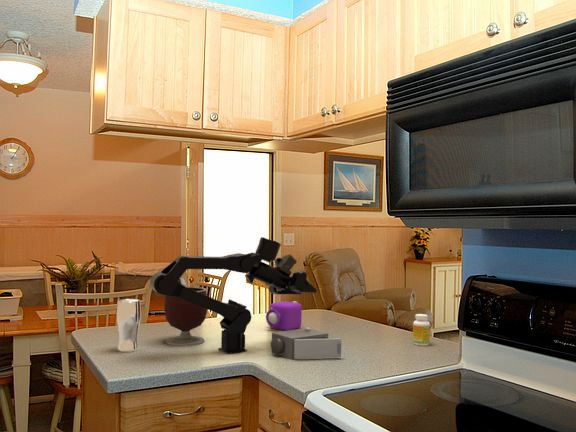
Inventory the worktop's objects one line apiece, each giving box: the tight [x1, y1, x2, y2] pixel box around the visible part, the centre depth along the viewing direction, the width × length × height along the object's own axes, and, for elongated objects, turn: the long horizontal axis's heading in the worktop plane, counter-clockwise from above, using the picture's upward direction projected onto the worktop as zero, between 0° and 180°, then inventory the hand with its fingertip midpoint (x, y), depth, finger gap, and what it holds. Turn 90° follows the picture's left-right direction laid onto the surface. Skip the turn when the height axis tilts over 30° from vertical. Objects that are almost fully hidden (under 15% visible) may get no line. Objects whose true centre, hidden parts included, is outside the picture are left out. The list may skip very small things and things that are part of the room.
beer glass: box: [116, 298, 142, 353], centre depth 170 cm, size 7×7×15 cm
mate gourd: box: [163, 277, 208, 347], centre depth 184 cm, size 16×14×20 cm
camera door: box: [293, 337, 342, 360], centre depth 163 cm, size 14×2×5 cm, turn 102°
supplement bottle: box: [412, 313, 431, 347], centre depth 186 cm, size 5×5×10 cm
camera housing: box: [270, 326, 329, 360], centre depth 170 cm, size 16×10×7 cm, turn 127°
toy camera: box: [265, 300, 303, 331], centre depth 208 cm, size 11×14×10 cm
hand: (308, 292), depth 182 cm, fingers open, 9 cm apart
